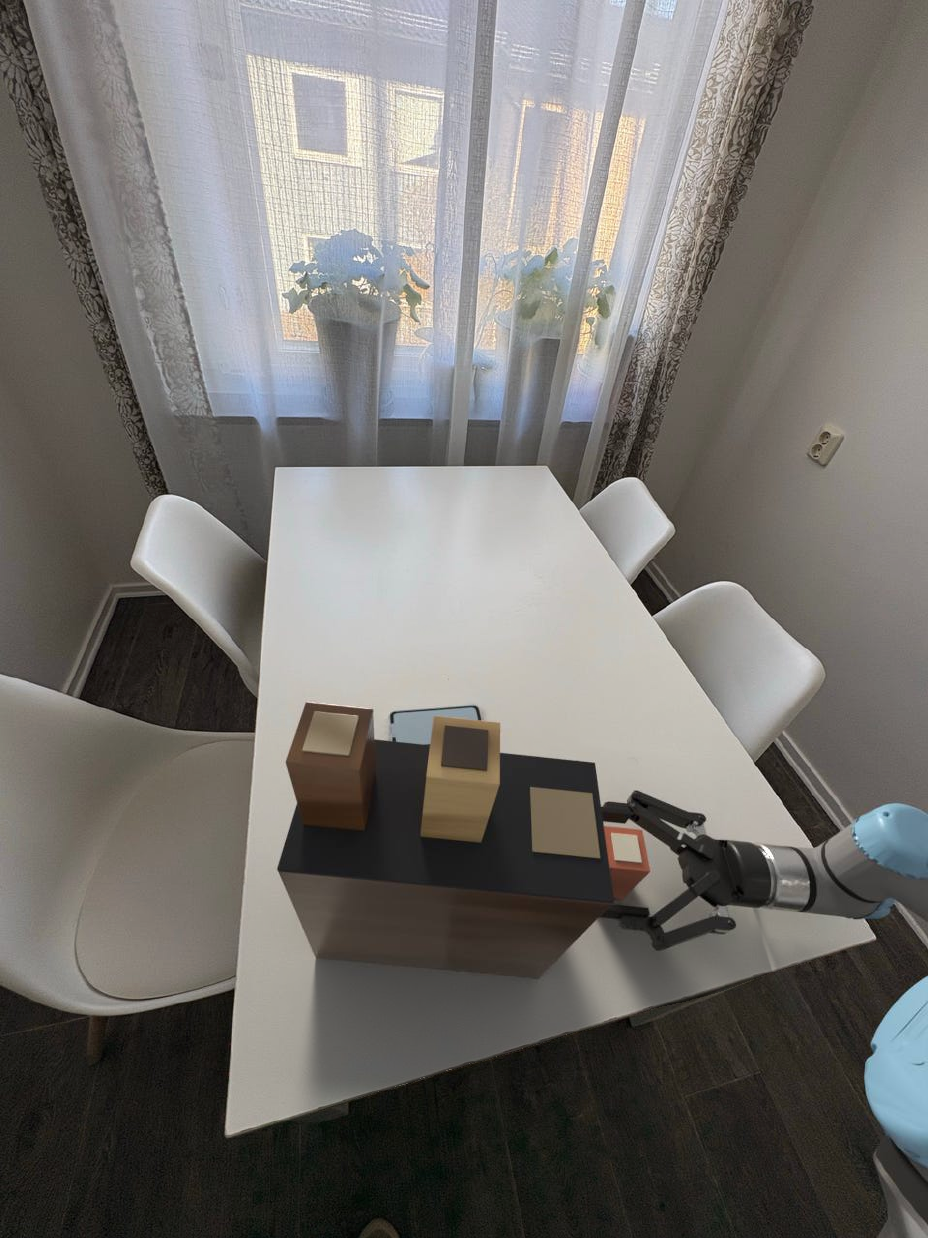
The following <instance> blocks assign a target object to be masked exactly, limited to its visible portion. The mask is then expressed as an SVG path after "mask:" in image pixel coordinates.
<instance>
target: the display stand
mask: <svg viewBox="0 0 928 1238" xmlns="http://www.w3.org/2000/svg"><path fill="white" fill-rule="evenodd" d="M277 872H278V874H279V877H280V879H281V881H282V884H283V886H284V887H285V888H284V889H285V891H286V893H287V895H288V898H289V900H290V902H291V904H292V906H293V909H294V911H295V913H296V916H297V918H298V921H299V923H300V925H301V928H302V930H303V932H304V934H305V937H306V939H307V941H308V943H309V946H310V948H311V951H312V953H313V956H314V957H315V959H321V960H331V961H343V962H355V963H366V964H376V965H384V966H385V965H386V966H387V965H388V966H395V967H396V966H397V967H406V968H407V967H409V968H418V969H429V970H439V971H440V970H441V971H451V972H452V971H453V972H463V973H473V974H485V975H494V976H495V975H496V976H504V977H505V976H506V977H515V978H516V977H517V978H528V979H536V980H537V979H538V980H539V979H540V978H541V977H542V976H544V974H546V972H547V971H548V970H549V969H550V968H551V967H552V966H553V965H554V964H555V963H556V962H557V961H558V960H559V959H560V958H561V957H562V956H563V955H564V954H565V953H566V952H567V951H568V950H569V949H570V948H571V946H573V944H575V942H576V941H578V940H579V938H580V937H581V936H582V935H584V934H585V932H586V931H587V930H589V928H591V926H592V925H593V924H594V923H595V922H596V921H597V920H598V919H599V917H600V916H601V915H602V914H603V913H604V912H605V911H606V910H607V909H608V908H609V907H610V906H611V905H612V904H610V903H600V902H590V901H580V900H569V899H559V898H549V897H539V896H528V895H518V894H508V893H498V892H487V891H477V890H467V889H457V888H446V887H436V886H426V885H416V884H405V883H395V882H385V881H374V880H364V879H354V878H344V877H333V876H323V875H313V874H303V873H292V872H282V871H278V870H277Z"/></svg>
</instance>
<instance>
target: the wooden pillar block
mask: <svg viewBox="0 0 928 1238" xmlns="http://www.w3.org/2000/svg"><path fill="white" fill-rule="evenodd" d="M500 753H501V722H497V721H490V720H483V721H481V720H471V719H462V718H453V717H444V716H434V717H433V726H432V734H431V742H430V751H429V759H428V767H427V776H426V785H425V795H424V805H423V815H422V825H421V834H420V836H421V837H430V838H440V839H450V840H460V841H470V842H480V843H481V842H482V838H483V835H484V832H485V829H486V826H487V823H488V819H489V816H490V813H491V810H492V807H493V804H494V801H495V797H496V794H497V791H498V788H499V785H500Z"/></svg>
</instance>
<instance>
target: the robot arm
mask: <svg viewBox="0 0 928 1238" xmlns="http://www.w3.org/2000/svg"><path fill="white" fill-rule="evenodd" d="M601 809H602V817H603V823H613V824H622V825H623V824H624V825H625V824H626V823H627V822H628V821H629V820H630V821H631V822H632V823H634V824H635V825H637V826H638V827H640V828H641V829H642V830H644V831H646V832H647V833H649V834H650V835H651V836H653V837H654V838H656V839H657V840H659V841H660V842H662V843H663V844H664V845H666V846H667V847H669V850H670V851H671V852H673V853H674V854H676V856H678V857H677V860H678V861H677V862H678V865H679V867H680V869H681V873H682V874H681V878H682V883H683V884H685V885H686V887H687V889H686V890H684V891H683V892H681V894H679V895H678V896H676V897H675V898H674V899H672V900H671V901H670V902H668V903H667V904H666V905H665V906H663V907H662V908H661V909H660V910H658V911H657V912H656V913H654V914H653V915H651V916H650V908H649V907H647V906H646V907H645V906H637V905H636V906H634V905H626V904H614V903H613V904H612V905H611V906H610V907H609V908H608V909H607V910H606V911H605V912H604V913H603V914H602V915H601V916H600V917H599V918H600V919H612V920H617V925H618V927H619V929H623V930H628V931H638V932H645V933H646V934H647V935H648V936H649V939H650V940H651V946H652V948H653V950H655V951H656V952H662V951H664V950H667V949H670V948H672V947H675V946H678V945H681V944H684V943H686V942H689V941H691V940H695V939H697V938H700V937H703V936H705V935H708V934H712V935H713V934H714V935H726V934H728V933H729V932H731V931H733V930H735V929H736V927H737V923H736V920H734V918H732V917H730V915H729V910H728V907H727V906H730V907H731V906H732V907H741V908H742V907H743V908H751V909H761V908H762V909H764V910H774V911H783V912H793V913H806V914H814V915H822V916H823V915H824V916H832V917H839V918H840V917H842V918H846V919H852V920H857V921H858V920H863V919H869V920H870V919H873V920H875V919H882V918H884V917H887V916H888V915H889V914H890V913H891V912H892V910H891V909H892V906H893V905H894V904H895V903H896V902H898V903H899V904H901V905H902V906H903V907H905V908H906V909H908V910H909V911H910V912H912V913H914V914H915V915H917V916H918V917H920V918H921V919H922V920H924V921H926V922H927V923H928V813H927V812H925V811H923V810H921V809H919V808H917V807H914V806H912V805H908V804H905V803H895V802H894V803H886V804H883V805H881V806H878V807H876V808H874V809H872V810H871V811H869V812H866V813H864V814H861V816H859V817H857V818H856V819H855V820H854V821H853V822H852V823H850V824H849V825H848V826H846V827H845V828H843V829H841V830H840V831H838V833H836V834H835V835H833V836H832V837H830V838H829V839H827V840H825V841H824V842H822V843H821V844H819V845H818V846H816V847H799V846H789V845H779V844H772V843H762V842H750V841H742V840H733V839H716V838H713V837H711V836H709V835H708V834H707V831H706V827H705V822H706V821H707V817H706V815H705V814H704V813H701V812H694V811H693V812H691V811H687V810H684V809H682V808H680V807H677V806H675V805H673V804H671V803H668V802H667V801H663V800H662V799H658V798H657V797H654V796H651V795H649V794H647V793H644V792H642V791H641V790H637V789H635V790H633V791H632V792H631V794H630V795H629V796H628V798H627V799H626V802H620V801H619V802H618V801H605V802H604V804H603V805H601ZM672 825H673V826H676V827H678V828H681V829H686V832H687V833H692V834H693V835H695V838H693V837H691V835H688V834H687V833H686V832H681V831H679V830H677V829H676V828H674V827H673V826H672ZM698 897H699V898H701V899H702V900H704V902H706V903H707V904H709V905H710V906H711V907H713V908H714V911H712V912H710V913H709V915H708V917H706V918H703V919H700V920H698V921H694V922H692V923H688V924H686V925H683V926H680V927H678V928H675V929H672V930H669V931H666V932H665V931H664V928H663V927H662V926H663V924H665V923H666V922H668V921H669V920H670V919H671V918H672V917H674V916H675V915H676V914H678V913H679V912H680V911H682V910H683V909H684V908H685V907H687V906H688V905H689V904H690V903H692V902H694V901H695V900H696V899H697V898H698ZM599 918H598V919H599ZM870 1048H871V1051H872V1055H870V1056H869V1057H868V1058H867V1059H866V1060H865V1065H864V1076H863V1077H864V1087H865V1095H866V1098H867V1101H868V1103H869V1107H870V1109H871V1111H872V1113H873V1115H874V1117H875V1118H876V1120H877V1122H878V1123H879V1124H880V1126H881V1128H882V1130H883V1132H884V1135H883V1137H882V1139H881V1140H880V1142H879V1144H878V1145H877V1147H876V1148H875V1150H874V1152H873V1153H872V1160H873V1163H874V1166H875V1170H876V1172H877V1176H878V1180H879V1182H880V1185H881V1189H882V1192H883V1195H884V1198H885V1201H886V1205H887V1206H886V1208H887V1220H886V1222H885V1223H884V1225H883V1227H882V1228H881V1229H880V1231H879V1233H878V1235H877V1236H876V1238H928V975H926V976H925V977H923V978H922V979H921V980H919V981H918V982H916V983H915V984H913V986H911V987H910V988H908V990H907V991H906V992H904V993H903V994H902V996H901V997H900V998H899V999H898V1000H897V1001H896V1002H895V1003H894V1004H893V1005H892V1006H891V1008H890V1009H889V1010H888V1012H887V1013H886V1014H885V1016H884V1017H883V1019H882V1020H881V1022H880V1024H879V1025H878V1026H877V1028H876V1030H875V1032H874V1034H873V1037H872V1039H871V1042H870Z"/></svg>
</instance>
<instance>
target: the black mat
mask: <svg viewBox="0 0 928 1238" xmlns="http://www.w3.org/2000/svg"><path fill="white" fill-rule="evenodd" d="M374 742H375V766H376V777H375V782H374V787H373V792H372V797H371V802H370V807H369V812H368V817H367V823H366V828H365V831H361V830H351V829H341V828H331V827H321V826H311V825H303V822H302V818H301V815H300V811H299V808H298V804H297V803H296V805H295V808H294V811H293V815H292V817H291V821H290V825H289V828H288V831H287V834H286V837H285V841H284V844H283V848H282V851H281V854H280V858H279V861H278V864H277V868H276V871H277V872H278V871H282V872H292V873H303V874H313V875H323V876H333V877H344V878H354V879H364V880H374V881H385V882H395V883H405V884H416V885H426V886H436V887H446V888H457V889H467V890H477V891H487V892H498V893H508V894H518V895H528V896H539V897H549V898H559V899H569V900H580V901H590V902H600V903H610V904H614V903H615V898H614V897H613V889H612V882H611V875H610V867H609V860H608V853H607V846H606V838H605V831H604V826H605V825H604V822H603V817H602V809H601V807H602V804H601V802H602V801H601V796H600V789H599V781H598V773H597V767H596V762H591V761H583V760H573V759H564V758H554V757H545V756H535V755H527V754H517V753H507V752H500V785H499V788H498V791H497V794H496V797H495V801H494V804H493V807H492V810H491V813H490V816H489V819H488V823H487V826H486V829H485V832H484V835H483V838H482V842H481V843H480V842H470V841H460V840H450V839H440V838H430V837H421V836H420V834H421V825H422V815H423V805H424V795H425V785H426V776H427V767H428V759H429V751H430V745H423V744H414V743H405V742H395V741H391V740H387V739H386V740H384V739H376V738H374Z"/></svg>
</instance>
